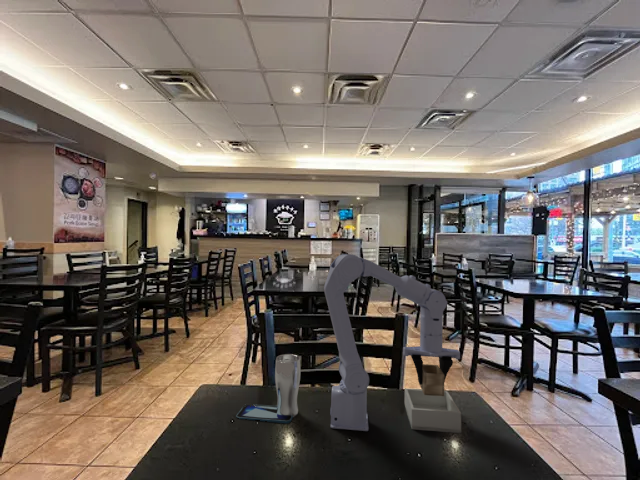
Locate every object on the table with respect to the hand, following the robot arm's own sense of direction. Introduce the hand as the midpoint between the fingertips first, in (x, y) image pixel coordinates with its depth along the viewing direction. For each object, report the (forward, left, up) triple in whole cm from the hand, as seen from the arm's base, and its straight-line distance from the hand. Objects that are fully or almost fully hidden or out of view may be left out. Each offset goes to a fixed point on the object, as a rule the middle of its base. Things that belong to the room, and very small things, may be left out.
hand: (430, 383), depth 85 cm
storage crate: (0, 0, -9) cm, 9 cm away
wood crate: (0, 0, -2) cm, 2 cm away
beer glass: (-39, -3, -10) cm, 40 cm away
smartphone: (-45, -4, -10) cm, 46 cm away
